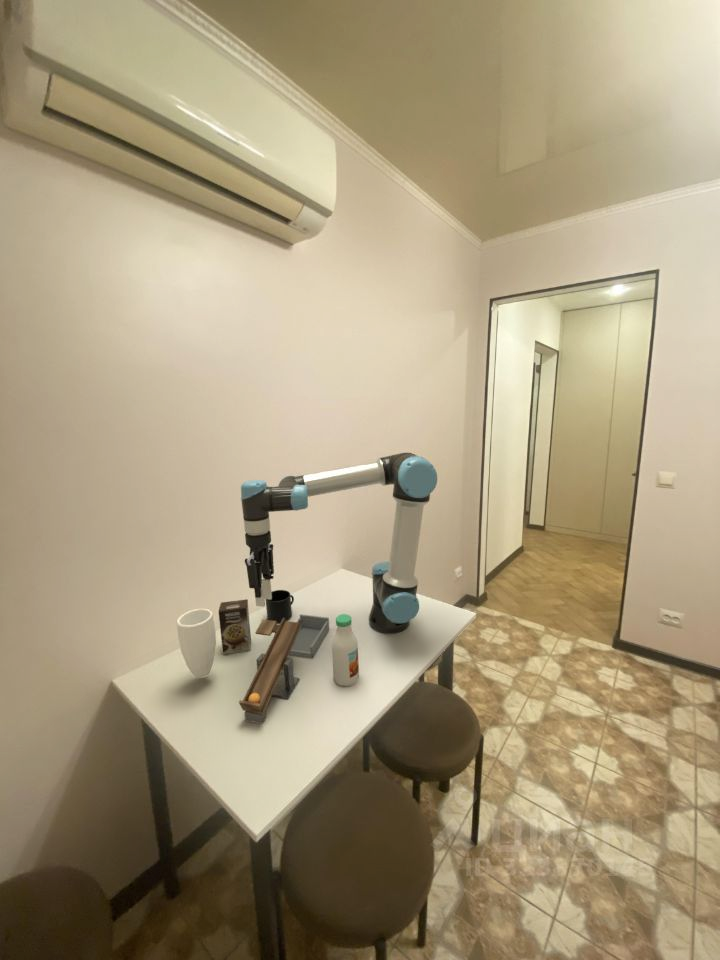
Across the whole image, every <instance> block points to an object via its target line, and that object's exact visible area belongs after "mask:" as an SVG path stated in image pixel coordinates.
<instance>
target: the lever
mask: <svg viewBox="0 0 720 960" xmlns="http://www.w3.org/2000/svg"><path fill="white" fill-rule="evenodd" d="M297 620H298V619H297ZM301 625H302V624H301V621H300V620H298V622H297V621H289V620H287V621H286V620H285V618H283V619H282V621H281V623H279V624H278V623H277V622H276V621H271V620H268V619H262V620H261V621H260V623H259V624H258V626H257V628H256V631H255V635H259V636H260V635H261V636H268V637H270V636H271V635H272V634H274V635H273V638H272V639H271V642H270V644H269V645H268V648H267V650H266V652H265V653H264V654H265V656H264V658H263V660H262V662H261V664H260V666H259V668H258V670H256V673H255V675H254V676H253V679H252V681H251V683H250V685H249V686H248V689H247V690H246V693H245V695H244V697H243V699H239V701H238V704H239V706H240V707H241V709H242V711H244V712H245V711H249V712H254V713H259V714H264V712H266V709H267V707H268V704H269V702H270V701H271V700H270V699H271V698H272V697H271V695H272V693H273V691H274V688H275V686H276V684H277V681H278V679H279V677H280V675H282V671H284V665H283V664H284V663H285V661H286V660H287V658H288V657H289V656H290V655H289V653H290V651H291V648H292V646H293V644H294V641H295V639H296V637H297V634H298V632H299V630H300V627H301ZM253 693H257V694H259V696H260V702H259V704H258V703H253V702H249V701H248V699H249V697H250V695H251V694H253Z"/></svg>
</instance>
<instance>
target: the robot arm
mask: <svg viewBox="0 0 720 960" xmlns="http://www.w3.org/2000/svg"><path fill="white" fill-rule="evenodd" d="M377 484H378V485H379V484H380V485H382V486H384V487H385V486H389V485H393V491H392V498H393V499H394V500H395V502H396V503H395V504H396V505H395V513H394V521H393V528H392V529H393V530H392V537H391V545H390V553H389V561H383V562H378V563H376V564H374V565H373V567H372V570H371V571H372V572H371V576H372V579H371V580H372V601H373V602H372V605H371V606H372V607H371V608H370V612H369V615H368V624H369V627H370V628H372V629H373V630H374V631H376V632H379V633H383V634H397V633H401V632H403V631H405V630H406V629H407V628H408V627H409V626H410V621H411V620H412V619H414V618H415V617H416V616H417V614H418V613H419V610H420V601H419V598H418V597H417V592H418V585H419V580H418V579H417V577H416V576H415V572H416V564H417V557H418V550H419V544H420V543H419V542H420V535H421V529H422V528H421V527H422V520H423V513H424V506H425V505H426V504H427V503H429V502H430V498H431V493H433V492H434V491H435V489H436V487H437V485H438V472H437V470H436V468H435V466H434V465H433V464H432V462H430V461H429V460H428V459H426V458H424V457H422V456H419V455H417V454H415V453H412V452H400V453H396V454H391V455H388V456H383V457H378V458H377V459H376V460H375V461H373V462H367V463H362V464H356V465H351V466H346V467H345V466H344V467H340V468H339V467H338V468H334V469H330V470H324V471H319V472H318V471H317V472H313V473H308V474H303V475H297V476H295V475H288V476H285V477H283V478H282V479H281V480H280V482H279V483H278V486H277V485H276V486H268V484H267V482H266V481H265V480H263V479H253V480H248V481H247V480H246V481H244V482H243V483H242V484H241V486H240V492H241V493H240V495H241V497H240V500H241V501H240V502H241V508H242V517H243V525H244V526H243V527H244V533H245V534H244V538H245V544H246V546H247V547H248V548H249V557H248V558H244V563H245V566H246V573H247V579H248V587H249V589H254V590H253V591H254V597H255V606H256V607H263V608H265V607H266V599H270V600H271V599H272V593H271V592H272V583H271V580H273V579H274V573H275V569H274V568H275V567H274V544H271V543H272V533H271V522H270V521H271V520H270V513H271V512H287V511H288V512H289V511H301V510H306V509H308V507H309V501H308V500H309V499H308V498H310V497H315V496H319V495H325V494H330V493H335V492H341V491H346V490H352V489H357V488H362V487H368V486H372V485H374V486H375V485H377Z"/></svg>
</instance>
